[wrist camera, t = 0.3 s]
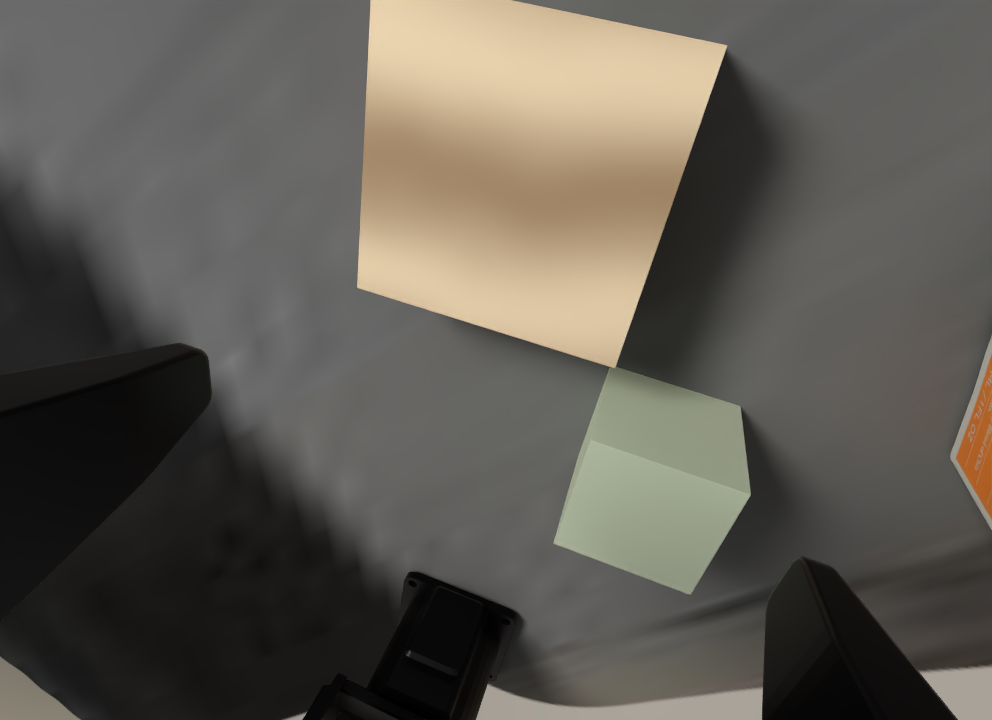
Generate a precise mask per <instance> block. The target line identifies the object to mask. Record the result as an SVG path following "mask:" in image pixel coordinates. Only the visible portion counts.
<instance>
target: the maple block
mask: <svg viewBox="0 0 992 720" xmlns="http://www.w3.org/2000/svg"><path fill="white" fill-rule="evenodd" d="M726 48H727V45H722V44H717V43H713V42H708V41H703V40H698V39H694V38H689V37H684V36H679V35H674V34H670V33H665V32H660V31H655V30H651V29H646V28H641V27H636V26H631V25H627V24H622V23H617V22H612V21H608V20H603V19H598V18H593V17H588V16H584V15H579V14H574V13H569V12H565V11H560V10H555V9H550V8H545V7H541V6H536V5H531V4H526V3H521V2H517V1H512V0H371V8H370V29H369V50H368V71H367V92H366V114H365V135H364V156H363V177H362V198H361V219H360V241H359V262H358V283H357V288H360V289H363V290H366V291H369V292H373V293H376V294H379V295H382V296H385V297H389V298H392V299H395V300H398V301H401V302H405V303H408V304H411V305H414V306H417V307H421V308H424V309H427V310H430V311H433V312H437V313H440V314H443V315H446V316H449V317H453V318H456V319H459V320H462V321H465V322H468V323H472V324H475V325H478V326H481V327H484V328H488V329H491V330H494V331H497V332H500V333H504V334H507V335H510V336H513V337H516V338H520V339H523V340H526V341H529V342H532V343H536V344H539V345H542V346H545V347H548V348H552V349H555V350H558V351H561V352H564V353H568V354H571V355H574V356H577V357H580V358H583V359H587V360H590V361H593V362H596V363H599V364H603V365H606V366H609V367H612V368H615V367H616V364H617V361H618V358H619V355H620V353H621V350H622V347H623V344H624V341H625V338H626V335H627V332H628V330H629V327H630V324H631V321H632V318H633V315H634V312H635V309H636V307H637V304H638V301H639V298H640V295H641V292H642V289H643V286H644V284H645V281H646V278H647V275H648V272H649V269H650V266H651V264H652V261H653V258H654V255H655V252H656V249H657V246H658V243H659V241H660V238H661V235H662V232H663V229H664V226H665V223H666V220H667V218H668V215H669V212H670V209H671V206H672V203H673V200H674V197H675V195H676V192H677V189H678V186H679V183H680V180H681V177H682V174H683V172H684V169H685V166H686V163H687V160H688V157H689V154H690V152H691V149H692V146H693V143H694V140H695V137H696V134H697V131H698V129H699V126H700V123H701V120H702V117H703V114H704V111H705V108H706V106H707V103H708V100H709V97H710V94H711V91H712V88H713V85H714V83H715V80H716V77H717V74H718V71H719V68H720V65H721V63H722V60H723V57H724V54H725V51H726Z"/></svg>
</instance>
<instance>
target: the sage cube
mask: <svg viewBox="0 0 992 720" xmlns="http://www.w3.org/2000/svg"><path fill="white" fill-rule="evenodd" d="M750 495H751V491H750V483H749V474H748V466H747V457H746V449H745V440H744V432H743V423H742V415H741V406H738V405H735V404H732V403H728V402H725V401H722V400H719V399H716V398H713V397H710V396H707V395H703V394H700V393H697V392H694V391H691V390H688V389H685V388H681V387H678V386H675V385H672V384H669V383H666V382H663V381H659V380H656V379H653V378H650V377H647V376H644V375H641V374H637V373H634V372H631V371H628V370H625V369H622V368H619V367H615V368H612V367H610V368H609V371H608V374H607V376H606V379H605V382H604V385H603V388H602V391H601V393H600V396H599V399H598V402H597V405H596V408H595V411H594V413H593V416H592V419H591V422H590V425H589V428H588V431H587V433H586V436H585V439H584V442H583V445H582V448H581V450H580V453H579V456H578V459H577V462H576V466H575V469H574V473H573V476H572V480H571V484H570V487H569V491H568V494H567V498H566V501H565V505H564V508H563V512H562V515H561V519H560V522H559V526H558V529H557V533H556V536H555V540H554V544H556V545H559V546H562V547H564V548H567V549H570V550H572V551H575V552H578V553H580V554H583V555H586V556H588V557H591V558H594V559H596V560H599V561H602V562H604V563H607V564H609V565H612V566H615V567H617V568H620V569H623V570H625V571H628V572H631V573H633V574H636V575H639V576H641V577H644V578H647V579H649V580H652V581H655V582H657V583H660V584H663V585H665V586H668V587H671V588H673V589H676V590H679V591H681V592H684V593H687V594H689V595H691V593H692V592H693V590H694V588H695V587H696V585H697V583H698V582H699V580H700V578H701V577H702V575H703V573H704V572H705V570H706V568H707V567H708V565H709V563H710V562H711V560H712V558H713V557H714V555H715V553H716V552H717V550H718V548H719V547H720V545H721V543H722V542H723V540H724V539H725V537H726V535H727V534H728V532H729V530H730V529H731V527H732V525H733V524H734V522H735V520H736V519H737V517H738V515H739V514H740V512H741V510H742V509H743V507H744V505H745V504H746V502H747V500H748V499H749V497H750Z"/></svg>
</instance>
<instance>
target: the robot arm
mask: <svg viewBox="0 0 992 720" xmlns="http://www.w3.org/2000/svg"><path fill="white" fill-rule="evenodd" d="M211 396H212V388H211V378H210V369H209V360H208V356H207V355H206V353H205V352H204V351H203V350H201V349H198V348H195V347H192V346H189V345H186V344H183V343H175V344H169V345H164V346H158V347H152V348H147V349H141V350H136V351H130V352H124V353H119V354H113V355H107V356H102V357H96V358H90V359H85V360H79V361H73V362H68V363H62V364H56V365H51V366H45V367H39V368H34V369H28V370H23V371H17V372H11V373H6V374H0V622H1V621H2V620H3V619H4V618H5V617H6V616H7V615H8V614H9V613H10V612H11V611H12V610H13V609H14V608H15V607H16V606H17V605H18V604H19V603H20V602H21V601H22V600H23V599H24V598H25V597H26V596H27V595H28V594H29V593H30V592H31V591H33V590H34V589H35V588H36V587H37V586H38V585H39V584H40V583H41V582H42V581H43V580H44V579H45V578H46V577H47V576H48V575H49V574H50V573H51V572H52V571H53V570H54V569H55V568H56V567H57V566H58V565H59V564H60V563H61V562H62V561H63V560H64V559H65V558H66V557H67V556H68V555H69V554H71V553H72V552H73V551H74V550H75V549H76V548H77V547H78V546H79V545H80V544H81V543H82V542H83V541H84V540H85V539H86V538H87V537H88V536H89V535H90V534H91V533H92V532H93V531H94V530H95V529H96V528H97V527H98V526H99V525H100V524H101V523H102V522H103V521H104V520H105V519H106V518H107V517H109V516H110V515H111V514H112V513H113V512H114V511H115V510H116V509H117V508H118V507H119V506H120V505H121V504H122V503H123V502H124V501H125V500H126V499H127V498H128V497H129V496H130V495H131V494H132V493H133V492H134V491H135V490H136V489H137V488H138V487H139V486H140V485H141V484H142V483H143V482H144V481H145V480H146V479H147V477H148V476H149V475H150V474H151V473H152V472H153V471H154V470H155V469H156V467H157V466H158V465H159V464H160V463H161V461H162V460H163V459H164V458H165V457H166V456H167V454H168V453H169V452H170V451H171V450H172V448H173V447H174V446H175V445H176V444H177V443H178V441H179V440H180V439H181V438H182V437H183V435H184V434H185V433H186V432H187V431H188V430H189V428H190V427H191V426H192V425H193V424H194V423H195V421H196V420H197V419H198V418H199V417H200V415H201V414H202V413H203V412H204V411H205V410H206V408H207V407H208V405H209V403H210V400H211ZM516 619H517V616H516V614H515V613H514V612H512V611H511V610H508V609H506V608H503V607H501V606H498V605H496V604H493V603H491V602H488V601H486V600H483V599H481V598H479V597H476V596H474V595H471V594H469V593H466V592H464V591H461V590H459V589H456V588H454V587H451V586H449V585H446V584H444V583H441V582H439V581H436V580H434V579H431V578H429V577H426V576H424V575H421V574H419V573H416V572H409V573H408V574H407V576H406V578H405V580H404V586H403V592H402V599H401V606H400V612H399V619H398V626H397V629H396V631H395V633H394V635H393V637H392V639H391V641H390V643H389V645H388V647H387V649H386V651H385V653H384V655H383V657H382V659H381V661H380V663H379V665H378V667H377V669H376V671H375V673H374V675H373V676H372V678H371V680H370V682H369V684H368V686H367V688H364V687H362V686H360V685H358V684H356V683H354V682H352V681H349V680H348V677H346V676H344V675H342V674H340V673H338V674H337V676H336V677H335V679H334V680H333V682H332V683H331V685H323V686H322V688H321V690H320V692H319V693H318V695H317V697H316V699H315V700H314V702H313V704H312V705H311V707H310V709H309V710H308V712H307V714H306V715H305V717H304V718H303V720H476V718H477V714H478V711H479V708H480V705H481V702H482V699H483V696H484V693H485V690H486V687H487V684H488V681H495V680H496V678H497V675H498V672H499V669H500V666H501V663H502V661H503V658H504V655H505V652H506V649H507V646H508V643H509V640H510V637H511V634H512V631H513V629H514V626H515V622H516ZM762 720H958V719H957V718H956V717H955V716H954V715H953V713H952V712H951V711H950V710H949V709H948V707H947V706H946V705H945V703H944V702H943V701H942V700H941V698H940V697H939V696H938V695H937V693H936V692H935V691H934V690H933V689H932V687H931V686H930V685H929V684H928V683H927V681H926V680H925V679H924V678H923V676H922V675H921V674H920V673H919V671H918V670H917V669H916V668H915V666H914V665H913V664H912V663H911V662H910V660H909V659H908V658H907V657H906V655H905V654H904V653H903V652H902V651H901V649H900V648H899V647H898V646H897V644H896V643H895V642H894V641H893V639H892V638H891V637H890V636H889V635H888V633H887V632H886V631H885V630H884V628H883V627H882V626H881V625H880V624H879V622H878V621H877V620H876V619H875V617H874V616H873V615H872V614H871V613H870V611H869V610H868V609H867V608H866V606H865V605H864V604H863V603H862V601H861V600H860V599H859V598H858V597H857V595H856V594H855V593H854V592H853V590H852V589H851V588H850V587H849V586H848V584H847V583H846V582H845V581H844V579H843V578H842V577H841V576H840V574H839V573H838V572H837V571H836V570H835V569H834V568H833V567H831V566H829V565H826V564H823V563H820V562H818V561H815V560H812V559H809V558H806V557H799V558H797V559H795V560H794V561H793V562H792V563H791V565H790V566H789V568H788V569H787V571H786V572H785V574H784V575H783V577H782V578H781V580H780V581H779V583H778V584H777V586H776V587H775V588H774V590H773V591H772V593H771V595H770V597H769V599H768V603H767V608H766V623H765V649H764V675H763V703H762Z"/></svg>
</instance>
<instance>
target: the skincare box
mask: <svg viewBox="0 0 992 720" xmlns="http://www.w3.org/2000/svg"><path fill="white" fill-rule="evenodd" d="M950 458H951V461H952V462H953V464H954V465H955V467H956V469H957V471H958V473H959V474H960V476H961V478H962V479H963V481H964V483H965V485H966V487H967V488H968V490H969V492H970V494H971V496H972V497H973V499H974V501H975V502H976V504H977V506H978V508H979V509H980V511H981V513H982V515H983V516H984V518H985V519H986V521H987V523H988V525H989V526H990V528H991V530H992V336H991V339H990V342H989V345H988V348H987V350H986V353H985V357H984V360H983V363H982V366H981V369H980V373H979V376H978V379H977V382H976V385H975V388H974V392H973V394H972V397H971V400H970V402H969V405H968V407H967V410H966V413H965V416H964V418H963V421H962V424H961V427H960V429H959V432H958V435H957V438H956V441H955V444H954V446H953V448H952V451H951V455H950Z"/></svg>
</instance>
